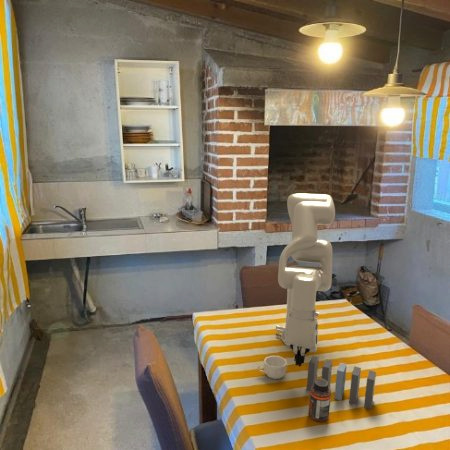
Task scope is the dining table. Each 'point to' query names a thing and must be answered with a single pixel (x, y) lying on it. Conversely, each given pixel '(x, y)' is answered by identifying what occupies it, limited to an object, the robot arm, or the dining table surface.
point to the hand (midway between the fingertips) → (299, 363)
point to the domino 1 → (312, 372)
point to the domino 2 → (327, 371)
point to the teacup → (274, 366)
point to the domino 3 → (340, 381)
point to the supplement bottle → (319, 400)
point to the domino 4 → (354, 385)
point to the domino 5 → (369, 389)
